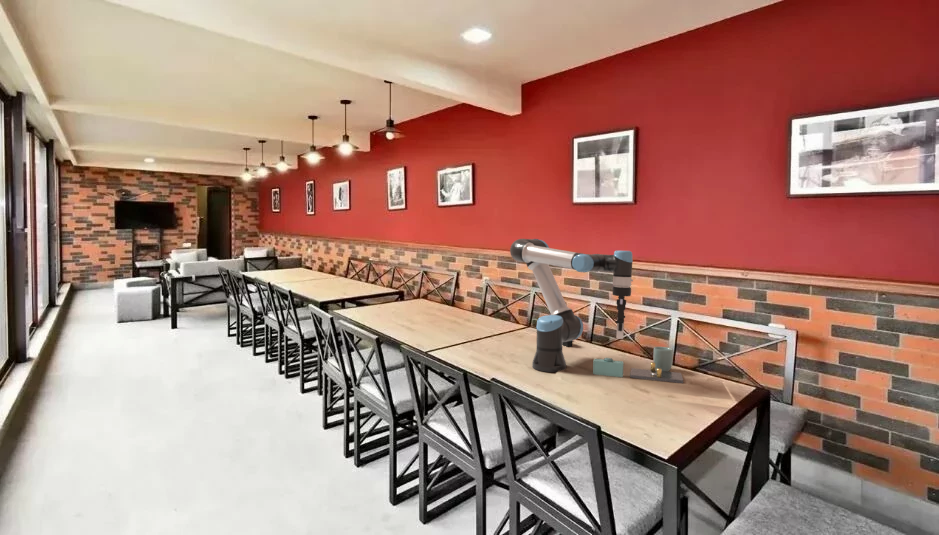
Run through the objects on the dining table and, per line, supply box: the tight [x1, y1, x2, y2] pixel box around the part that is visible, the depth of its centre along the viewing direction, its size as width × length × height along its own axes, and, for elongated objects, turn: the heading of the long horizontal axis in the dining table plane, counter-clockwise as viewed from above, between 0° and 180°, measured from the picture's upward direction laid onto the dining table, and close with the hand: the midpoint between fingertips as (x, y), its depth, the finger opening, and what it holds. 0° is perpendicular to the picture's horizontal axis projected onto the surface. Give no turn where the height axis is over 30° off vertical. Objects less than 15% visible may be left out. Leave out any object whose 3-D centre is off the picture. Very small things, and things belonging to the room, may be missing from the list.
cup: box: [652, 346, 674, 372], centre depth 199 cm, size 8×8×10 cm
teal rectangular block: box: [592, 357, 624, 378], centre depth 192 cm, size 12×4×7 cm, turn 67°
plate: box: [629, 361, 684, 384], centre depth 190 cm, size 20×12×5 cm, turn 69°
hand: (619, 335), depth 194 cm, fingers open, 13 cm apart
